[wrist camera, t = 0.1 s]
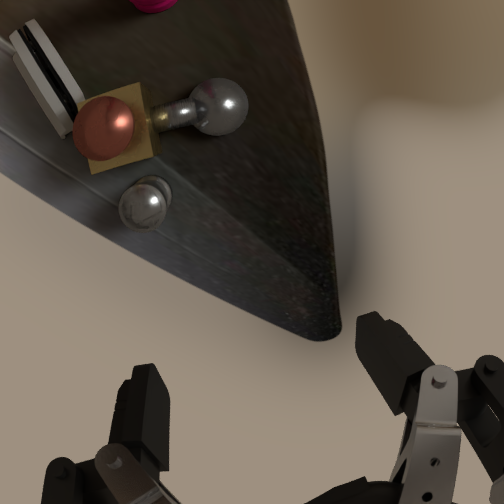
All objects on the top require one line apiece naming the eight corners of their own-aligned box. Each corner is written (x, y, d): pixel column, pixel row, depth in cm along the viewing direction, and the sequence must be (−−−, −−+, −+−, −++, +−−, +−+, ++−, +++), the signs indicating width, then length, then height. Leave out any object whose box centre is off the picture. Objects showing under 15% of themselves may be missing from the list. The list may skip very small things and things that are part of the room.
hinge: (14, 61, 24) (-6, 30, 15) (40, 41, 25) (28, 5, 16) (64, 141, 31) (48, 124, 22) (92, 119, 32) (86, 95, 23)
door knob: (128, 180, 35) (113, 191, 28) (167, 170, 35) (159, 179, 29) (138, 219, 37) (126, 237, 30) (176, 209, 37) (171, 226, 31)
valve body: (98, 107, 30) (61, 100, 20) (240, 73, 32) (255, 51, 22) (110, 166, 33) (77, 181, 24) (250, 133, 35) (269, 134, 25)
